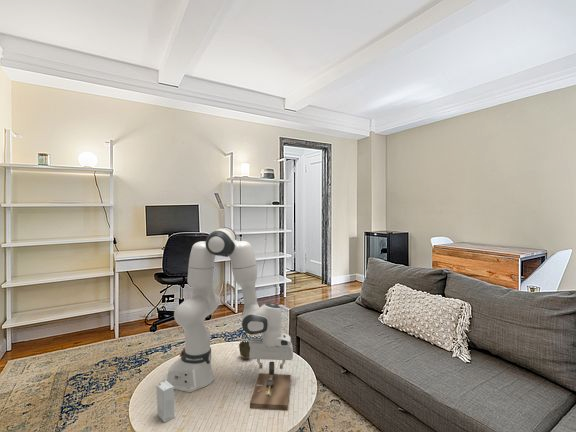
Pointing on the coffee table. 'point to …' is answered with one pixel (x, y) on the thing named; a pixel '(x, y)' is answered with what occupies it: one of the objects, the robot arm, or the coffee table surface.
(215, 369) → the coffee table surface
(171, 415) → the skincare box
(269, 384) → the tuning crank
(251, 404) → the board
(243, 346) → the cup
